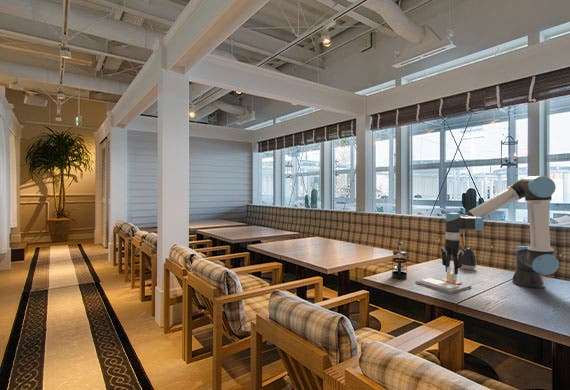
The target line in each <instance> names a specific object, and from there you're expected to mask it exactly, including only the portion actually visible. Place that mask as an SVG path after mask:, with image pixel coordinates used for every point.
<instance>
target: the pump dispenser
mask: <svg viewBox="0 0 570 390" xmlns="http://www.w3.org/2000/svg"><path fill="white" fill-rule="evenodd" d="M460 251H462V252H464V255H463V260H462V268H461V269H464V270H467V271H473V270H475V269H476V267H477V264H478V263H477V258H476V255H475V254H476V253H475V252H474V250H473V249H472V248H470V247H466V248H464V249H463V248H462V249H460Z"/></svg>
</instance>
